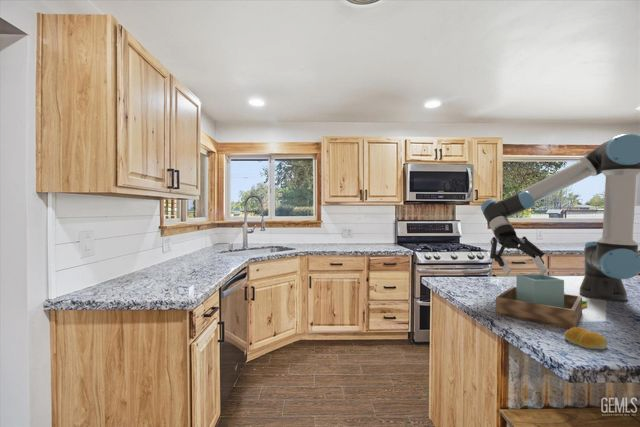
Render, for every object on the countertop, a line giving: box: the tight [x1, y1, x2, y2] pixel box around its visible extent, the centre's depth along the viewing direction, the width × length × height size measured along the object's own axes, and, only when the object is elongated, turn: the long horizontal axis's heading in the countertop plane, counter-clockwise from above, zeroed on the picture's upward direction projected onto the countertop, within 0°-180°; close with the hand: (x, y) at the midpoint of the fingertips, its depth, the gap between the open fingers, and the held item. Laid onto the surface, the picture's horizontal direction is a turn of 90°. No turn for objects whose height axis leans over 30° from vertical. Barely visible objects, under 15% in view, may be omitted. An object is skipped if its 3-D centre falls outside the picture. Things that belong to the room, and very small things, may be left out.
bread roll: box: [563, 326, 608, 350], centre depth 89 cm, size 8×9×4 cm
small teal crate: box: [516, 273, 565, 308], centre depth 114 cm, size 10×10×12 cm
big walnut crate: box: [495, 286, 583, 330], centre depth 114 cm, size 22×22×6 cm
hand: (526, 272), depth 120 cm, fingers open, 13 cm apart
